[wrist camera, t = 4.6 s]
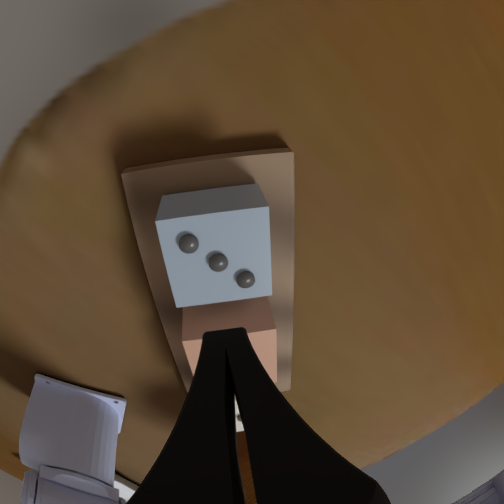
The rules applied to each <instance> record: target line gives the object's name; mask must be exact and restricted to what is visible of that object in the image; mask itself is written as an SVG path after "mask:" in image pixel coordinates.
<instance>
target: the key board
mask: <svg viewBox="0 0 504 504" xmlns="http://www.w3.org/2000/svg"><path fill="white" fill-rule="evenodd" d="M121 177H122V181H123V186H124V190H125V195H126V199H127V203H128V208H129V212H130V216H131V220H132V224H133V228H134V232H135V235H136V239H137V243H138V247H139V250H140V254H141V258H142V261H143V265H144V268H145V271H146V275H147V278H148V282H149V285H150V288H151V291H152V295H153V298H154V301H155V304H156V307H157V310H158V313H159V316H160V319H161V322H162V325H163V328H164V331H165V334H166V337H167V340H168V343H169V345H170V348H171V351H172V354H173V356H174V359H175V362H176V364H177V367H178V370H179V372H180V375H181V378H182V380H183V383H184V385H185V388H186V390H187V393H188V391H189V389H190V386H191V383H192V379H193V373H192V370H191V367H190V364H189V361H188V358H187V355H186V352H185V349H184V346H183V343H182V320H183V307H179V308H177V307H176V304H175V300H174V296H173V293H172V289H171V285H170V281H169V277H168V274H167V270H166V266H165V262H164V258H163V253H162V249H161V245H160V241H159V236H158V232H157V228H156V223H155V220H156V216H157V212H158V209H159V205H160V202H161V198H162V196H163V195H170V194H177V193H184V192H191V191H198V190H206V189H214V188H222V187H230V186H239V185H248V184H257V183H258V185H259V187H260V189H261V191H262V193H263V195H264V197H265V199H266V201H267V203H268V206H269V220H270V245H271V272H272V295H270V296H267V297H268V301H269V304H270V308H271V312H272V315H273V319H274V322H275V326H276V334H277V382H274V383H275V385H276V387H277V388H278V389H279V391H280V392H283V391H288V390H290V384H291V363H292V337H293V304H294V231H295V213H294V152H293V151H292V150H291V149H290V148H275V149H263V150H252V151H242V152H232V153H223V154H215V155H207V156H199V157H191V158H184V159H177V160H171V161H164V162H158V163H152V164H146V165H140V166H135V167H129V168H125V169H124V170H123V172H122V173H121Z"/></svg>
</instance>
